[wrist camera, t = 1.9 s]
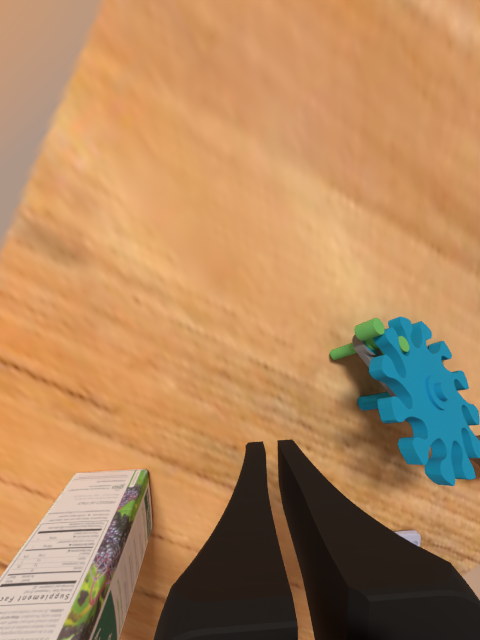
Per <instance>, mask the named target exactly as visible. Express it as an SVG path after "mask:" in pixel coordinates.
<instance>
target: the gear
mask: <svg viewBox="0 0 480 640" xmlns="http://www.w3.org/2000/svg"><path fill="white" fill-rule="evenodd" d="M388 325H389V328H388V329H384V325H383V323H382V322H381V321H380V320H379V319H378V318H374V319H372V320H369V321H367V322H364V323H362V324H360V325H357V326H356V327H355V334H356V335H354V337H353V343H351V344H348V345H345V346H342V347H340V348H337V349H334V350H331V352H330V355H331V358H332V359H333V360H337V359H340V358H343V357H346V356H349V355H352V354H355V353H357V354H358V355H359V356H360V357H361V359H362V360H363V361H364V363H365V364H366V365H367V366H368V368H369V373H370V375H371V376H372V378H374V379H375V380H378V381H379V382H380V383H381V384H382V386H383V387H384V388H385V390H386V391H387V392H384V393H379V394H373V395H368V396H362V397H359V398H358V405H359V407H360V409H361V410H363V411H365V410H372V409H378V410H379V414H380V418H381V421H382V422H383V423H398V422H403V421H404V420H406V421H408V422H409V423H410V425H411V427H412V429H413V437H404V438H400V439H399V441H398V447H399V450H400V452H401V454H402V456H403V457H404V459H405V461H406V462H407V464H417V465H425V473H426V475H427V476H428V477H429V478H430V479H431V480H432V481H433V482H434V483H436V484H438V485H449V486H454V485H455V479H468V480H471V479H474V478H476V477H475V471H474V468H473V466H472V464H471V462H470V460H469V458H480V441H479V439H478V438H477V437H476V436H475V435H474V434H473V433H472V431H471V430H470V428H469V426H468V425H479V413H478V410H477V408H476V407H475V406H474V405H473V404H469V403H468V402H466V401H465V400H464V399H463V398H462V397H461V395H460V394H459V393H458V390H465V389H468V388H469V387H468V383H467V380H466V377H465V374H464V372H463V371H455V372H450V371H448V370H447V369H446V368H445V367H444V366H443V364H442V361H443V360H447V359H451V357H452V355H451V352H450V350H449V349H448V347H447V345H446V344H445V342H444V341H441V342H438V343H434V344H430V345H429V350H428V348H427V346H426V340H427V339H430V338H431V337H432V334H431V331H430V329H429V328H428V327H427V326H426V325H425V324H424V323H423V322H422V321H420V322H418V323H415V324H411V322H410V320H408V319H407V318H404V317H398V318H395V319H393V320H390V321H388ZM430 446H431V450H432V456H431V458H429V459H428V456H429V449H430Z"/></svg>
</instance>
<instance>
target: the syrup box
mask: <svg viewBox="0 0 480 640" xmlns="http://www.w3.org/2000/svg"><path fill="white" fill-rule="evenodd" d="M152 526H153V523H152V508H151V497H150V487H149V478H148V471H147V470H146V469H139V470H116V471H99V472H83V473H76V474H75V475H74V476H73V478H72V479H71V480H70V482H69V483H68V484H67V486H66V487H65V489H64V490H63V492H62V493H61V494H60V496H59V497H58V498H57V500H56V501H55V502H54V504H53V505H52V506H51V508H50V509H49V511H48V512H47V513H46V515H45V516H44V517H43V519H42V520H41V522H40V523H39V524H38V526H37V527H36V529H35V530H34V531H33V533H32V534H31V535H30V537H29V538H28V540H27V541H26V542H25V544H24V545H23V546H22V548H21V549H20V550H19V552H18V553H17V555H16V556H15V557H14V559H13V560H12V562H11V563H10V564H9V566H8V567H7V568H6V570H5V571H4V573H3V574H2V576H1V577H0V640H119V639H120V635H121V632H122V629H123V625H124V622H125V619H126V615H127V612H128V609H129V606H130V602H131V599H132V595H133V592H134V589H135V585H136V582H137V579H138V575H139V572H140V568H141V565H142V562H143V558H144V555H145V551H146V548H147V544H148V540H149V537H150V534H151V530H152Z"/></svg>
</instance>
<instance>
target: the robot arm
mask: <svg viewBox="0 0 480 640" xmlns="http://www.w3.org/2000/svg"><path fill="white" fill-rule="evenodd" d="M278 475H279V487H280V493H281V499H282V504H283V509H284V513H285V516H286V520H287V523H288V527H289V530H290V534H291V537H292V541H293V544H294V548H295V552H296V555H297V559H298V562H299V566H300V569H301V573H302V577H303V581H304V586H305V591H306V596H307V601H308V606H309V611H310V616H311V621H312V626H313V632H314V637H315V640H480V600H479V599H478V597H477V596H476V595H475V593H474V592H473V590H472V589H471V588H470V587H469V585H468V584H467V583H466V581H465V580H464V579H463V578H462V576H461V575H460V574H459V573H458V572H457V570H456V569H455V568H454V567H453V566H452V564H451V563H450V562H448V561H446V560H444V559H442V558H440V557H438V556H436V555H434V554H432V553H430V552H428V551H427V550H425V549H423V548H421V547H420V540H421V536H420V535H419V533H418V532H417V531H415V530H409V531H397V532H393V531H392V530H390V529H389V528H387V527H385V526H384V525H382V524H381V523H379V522H378V521H377V520H375V519H374V518H372V517H371V516H369V515H368V514H367V513H365V512H364V511H363V510H361V509H360V508H359V507H357V506H356V505H355V504H354V503H352V502H351V501H350V500H349V499H348V498H346V497H345V496H344V495H343V494H342V493H341V492H340V491H339V490H337V489H336V488H335V487H334V486H333V485H332V484H331V483H330V482H329V481H328V480H327V479H326V478H325V477H324V476H323V475H322V474H321V473H320V472H319V470H318V469H317V468H316V467H315V466H314V465H313V464H312V463H311V462H310V461H309V459H308V458H307V457H306V456H305V455H304V453H303V452H302V451H301V450H300V448H299V447H298V446H297V445H296V443H295V442H294V441H293V440H279V441H278ZM154 640H298V626H297V619H296V613H295V608H294V603H293V597H292V593H291V589H290V586H289V582H288V579H287V575H286V571H285V567H284V563H283V560H282V556H281V551H280V547H279V543H278V539H277V535H276V530H275V525H274V521H273V516H272V511H271V506H270V501H269V496H268V488H267V470H266V452H265V448H264V444H263V442H250V443H248V444H247V445H246V453H245V458H244V463H243V466H242V470H241V473H240V476H239V479H238V482H237V484H236V487H235V489H234V492H233V495H232V497H231V499H230V501H229V503H228V506H227V508H226V510H225V511H224V513H223V515H222V517H221V519H220V521H219V522H218V524H217V526H216V528H215V529H214V531H213V533H212V534H211V536H210V537H209V539H208V540H207V542H206V543H205V545H204V546H203V548H202V549H201V550H200V552H199V553H198V555H197V556H196V558H195V559H194V560H193V561H192V563H191V564H190V565H189V566H188V568H187V569H186V570H185V571H184V572H183V574H182V575H181V576H180V577H179V578H178V580H177V581H176V582H175V583H174V584H173V586H172V587H171V589H170V592H169V594H168V597H167V599H166V602H165V605H164V607H163V610H162V613H161V616H160V619H159V622H158V626H157V629H156V633H155V636H154Z"/></svg>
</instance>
